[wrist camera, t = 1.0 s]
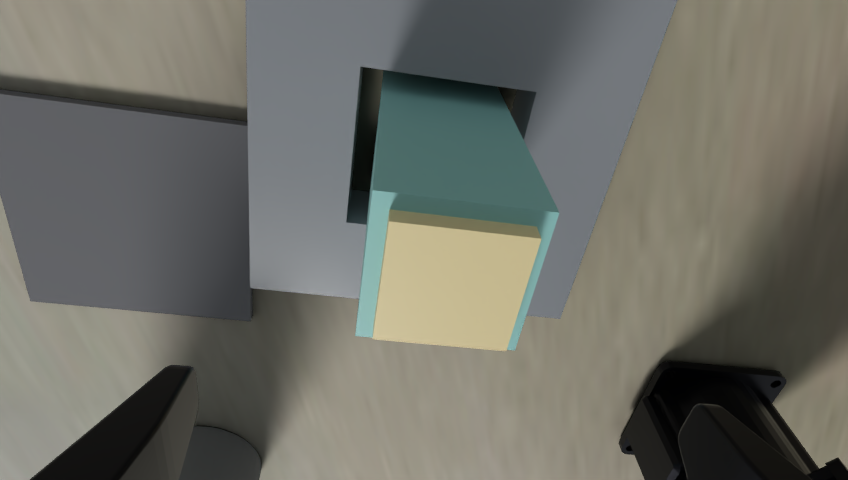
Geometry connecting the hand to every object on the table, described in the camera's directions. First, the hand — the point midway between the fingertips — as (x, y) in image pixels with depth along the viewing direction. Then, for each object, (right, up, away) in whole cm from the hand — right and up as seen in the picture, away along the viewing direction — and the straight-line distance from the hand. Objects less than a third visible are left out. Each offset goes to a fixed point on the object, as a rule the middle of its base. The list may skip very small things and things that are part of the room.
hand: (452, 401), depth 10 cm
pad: (-12, +4, +12) cm, 17 cm away
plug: (0, +7, +10) cm, 12 cm away
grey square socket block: (0, +7, +10) cm, 12 cm away
